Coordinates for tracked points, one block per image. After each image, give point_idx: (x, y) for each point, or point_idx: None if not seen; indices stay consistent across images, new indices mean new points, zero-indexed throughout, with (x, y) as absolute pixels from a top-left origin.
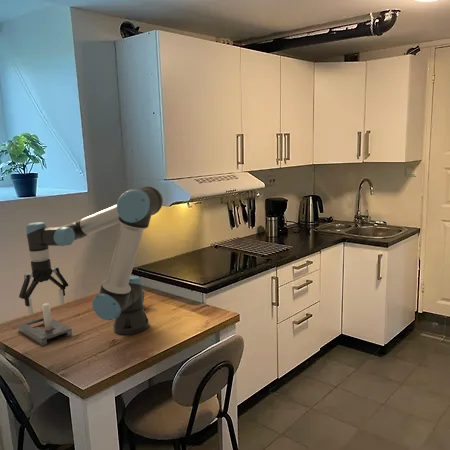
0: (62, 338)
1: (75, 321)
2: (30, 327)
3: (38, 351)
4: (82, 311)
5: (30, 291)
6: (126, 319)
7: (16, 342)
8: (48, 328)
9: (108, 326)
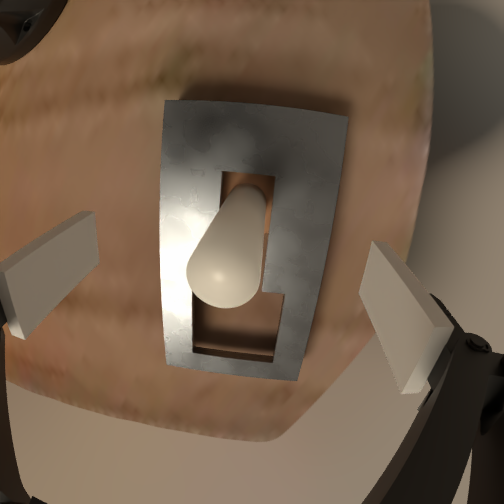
0: None
1: None
2: (288, 311)
3: (383, 80)
4: None
5: (467, 408)
6: None
7: None
8: (255, 193)
9: (42, 73)
